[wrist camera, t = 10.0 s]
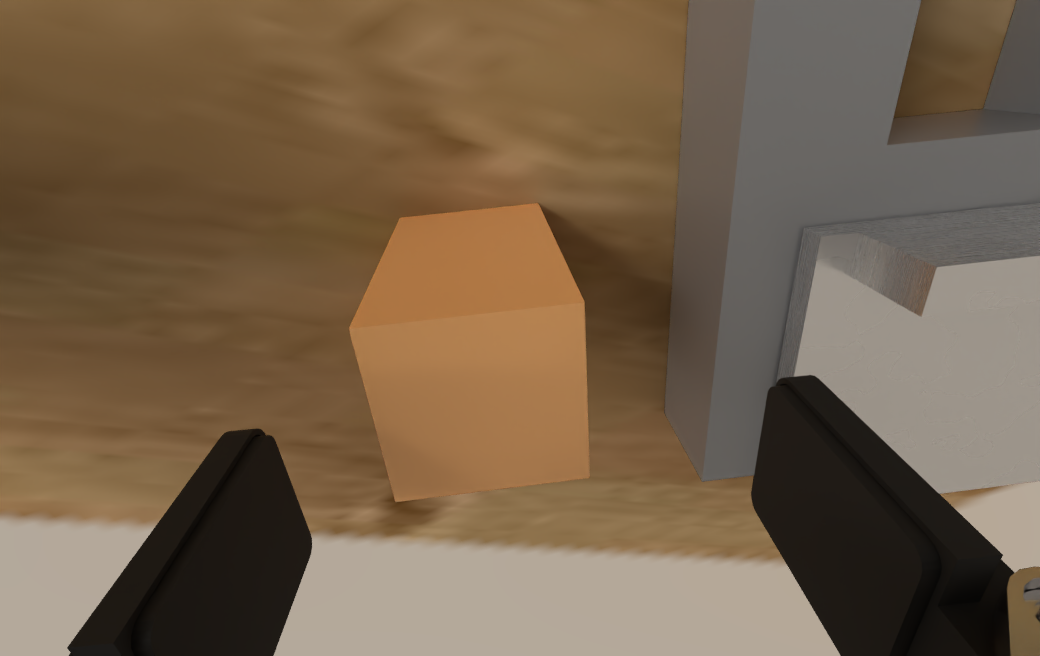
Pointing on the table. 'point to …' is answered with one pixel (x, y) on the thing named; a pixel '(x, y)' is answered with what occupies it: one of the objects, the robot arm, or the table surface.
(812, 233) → the panel
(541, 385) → the plug peg
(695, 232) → the socket block
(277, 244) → the table surface
